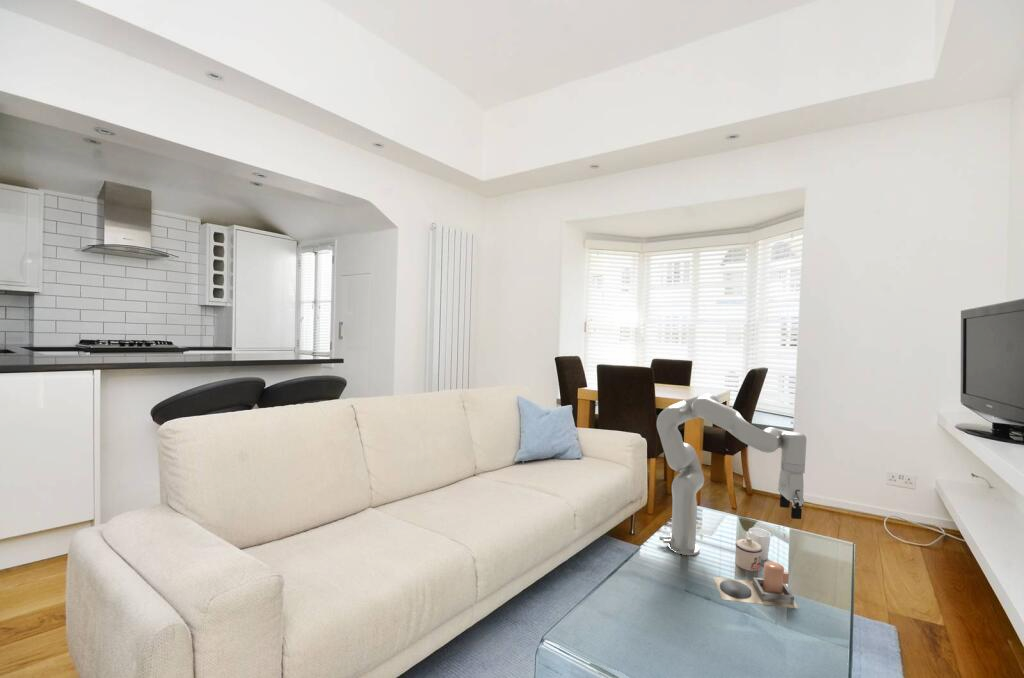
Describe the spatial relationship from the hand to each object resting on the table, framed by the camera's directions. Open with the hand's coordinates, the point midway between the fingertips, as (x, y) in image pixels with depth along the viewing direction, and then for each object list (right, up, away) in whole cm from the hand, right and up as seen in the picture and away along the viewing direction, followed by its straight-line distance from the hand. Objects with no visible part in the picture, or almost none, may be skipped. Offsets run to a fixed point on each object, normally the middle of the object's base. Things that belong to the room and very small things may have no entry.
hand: (790, 512), depth 176 cm
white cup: (-2, -25, +19) cm, 31 cm away
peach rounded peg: (-11, -25, -8) cm, 29 cm away
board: (-17, -26, -7) cm, 32 cm away
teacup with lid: (-9, -25, +12) cm, 29 cm away
